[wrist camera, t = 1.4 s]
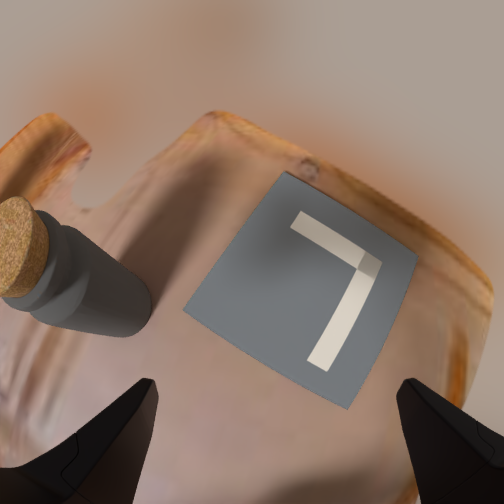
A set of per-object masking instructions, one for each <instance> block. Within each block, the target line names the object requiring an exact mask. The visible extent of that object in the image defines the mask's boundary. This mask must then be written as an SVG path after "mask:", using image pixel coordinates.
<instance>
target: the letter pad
mask: <svg viewBox="0 0 504 504" xmlns="http://www.w3.org/2000/svg"><path fill="white" fill-rule="evenodd" d="M418 257H419V256H418V255H416V254H415V253H414V252H412V251H411V250H409V249H408V248H407V247H405V246H404V245H402V244H401V243H399V242H398V241H397V240H395V239H394V238H392V237H391V236H389V235H388V234H386V233H385V232H383V231H382V230H380V229H379V228H377V227H376V226H374V225H373V224H371V223H370V222H368V221H367V220H365V219H364V218H362V217H360V216H359V215H357V214H356V213H354V212H353V211H351V210H349V209H348V208H346V207H345V206H343V205H341V204H340V203H338V202H336V201H335V200H333V199H331V198H330V197H328V196H326V195H325V194H323V193H321V192H319V191H318V190H316V189H314V188H313V187H311V186H309V185H307V184H305V183H304V182H302V181H300V180H298V179H297V178H295V177H293V176H291V175H289V174H287V173H286V172H283V173H282V174H281V176H280V177H279V178H278V180H277V181H276V182H275V184H274V185H273V186H272V188H271V189H270V190H269V192H268V193H267V194H266V196H265V197H264V198H263V200H262V201H261V202H260V204H259V205H258V206H257V208H256V209H255V210H254V212H253V213H252V214H251V216H250V217H249V218H248V220H247V221H246V222H245V224H244V225H243V227H242V228H241V229H240V231H239V232H238V233H237V235H236V236H235V237H234V239H233V240H232V242H231V243H230V244H229V246H228V247H227V248H226V250H225V251H224V253H223V254H222V255H221V257H220V258H219V259H218V261H217V262H216V264H215V265H214V266H213V268H212V269H211V271H210V272H209V273H208V275H207V276H206V278H205V279H204V280H203V282H202V283H201V285H200V286H199V287H198V289H197V290H196V292H195V293H194V294H193V296H192V297H191V299H190V300H189V301H188V303H187V304H186V306H185V307H184V309H183V311H185V312H186V313H187V314H189V315H190V316H192V317H193V318H194V319H196V320H197V321H199V322H200V323H201V324H203V325H204V326H206V327H207V328H209V329H210V330H212V331H213V332H215V333H216V334H218V335H219V336H221V337H222V338H224V339H225V340H227V341H228V342H230V343H231V344H233V345H234V346H236V347H237V348H239V349H240V350H242V351H244V352H245V353H247V354H248V355H250V356H251V357H253V358H255V359H256V360H258V361H260V362H261V363H263V364H265V365H266V366H268V367H270V368H271V369H273V370H275V371H276V372H278V373H280V374H281V375H283V376H285V377H287V378H288V379H290V380H292V381H294V382H295V383H297V384H299V385H301V386H303V387H304V388H306V389H308V390H310V391H312V392H314V393H316V394H317V395H319V396H321V397H323V398H325V399H327V400H329V401H331V402H333V403H335V404H337V405H339V406H341V407H343V408H345V409H347V410H348V408H349V407H350V405H351V403H352V402H353V400H354V398H355V397H356V395H357V393H358V392H359V390H360V388H361V387H362V385H363V383H364V381H365V379H366V378H367V376H368V374H369V372H370V370H371V368H372V366H373V365H374V363H375V361H376V359H377V357H378V355H379V353H380V351H381V349H382V347H383V345H384V343H385V340H386V338H387V336H388V334H389V332H390V330H391V327H392V325H393V323H394V321H395V318H396V316H397V314H398V311H399V309H400V306H401V304H402V301H403V299H404V296H405V294H406V291H407V288H408V286H409V283H410V280H411V277H412V275H413V272H414V269H415V266H416V263H417V260H418Z"/></svg>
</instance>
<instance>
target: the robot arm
mask: <svg viewBox="0 0 504 504" xmlns="http://www.w3.org/2000/svg"><path fill="white" fill-rule="evenodd" d="M158 398H159V396H158V391H157V388H156V384H155V381H154V380H153V379H148V378H142V379H140V380H139V381H138V382H137V383H136V384H134V385H133V386H132V387H131V388H130V389H128V390H127V391H126V392H125V393H124V394H122V395H121V396H120V397H119V398H117V399H116V400H115V401H114V402H113V403H111V404H110V405H109V406H108V407H106V408H105V409H104V410H103V411H101V412H100V413H99V414H98V415H96V416H95V417H94V418H93V419H91V420H90V421H89V422H88V423H86V424H85V425H84V426H83V427H81V428H80V429H79V430H78V431H77V432H76V433H74V434H72V435H71V436H70V437H69V438H67V439H66V440H65V441H63V442H62V443H60V444H59V445H57V446H56V447H54V448H53V449H51V450H49V451H48V452H46V453H44V454H43V455H41V456H39V457H37V458H35V459H34V460H32V461H30V462H28V463H26V464H24V465H22V466H19V467H14V468H0V504H132V503H133V500H134V496H135V492H136V489H137V485H138V482H139V478H140V475H141V471H142V468H143V464H144V461H145V458H146V454H147V451H148V448H149V444H150V441H151V437H152V433H153V427H154V421H155V416H156V410H157V405H158ZM396 400H397V404H398V409H399V414H400V420H401V425H402V430H403V433H404V437H405V440H406V444H407V447H408V451H409V455H410V458H411V462H412V466H413V470H414V474H415V478H416V482H417V486H418V491H419V495H420V500H421V504H504V437H503V436H501V435H500V434H498V433H496V432H494V431H492V430H491V429H489V428H487V427H486V426H484V425H483V424H481V423H480V422H478V421H476V420H475V419H474V418H472V417H471V416H469V415H468V414H466V413H465V412H463V411H462V410H461V409H459V408H458V407H456V406H455V405H453V404H452V403H450V402H449V401H447V400H446V399H444V398H443V397H442V396H440V395H439V394H437V393H436V392H434V391H433V390H431V389H430V388H428V387H427V386H426V385H424V384H423V383H421V382H420V381H418V380H417V379H415V378H409V379H405V380H404V381H403V383H402V385H401V387H400V389H399V390H398V392H397V395H396Z"/></svg>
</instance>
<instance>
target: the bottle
mask: <svg viewBox="0 0 504 504" xmlns="http://www.w3.org/2000/svg"><path fill="white" fill-rule="evenodd" d="M0 297H2V299H3V300H4V301H5V303H7V304H8V305H9V306H10V307H12V308H15V309H17V310H20V311H25V312H30V314H31V315H32V316H33V317H34V318H35V319H37V320H38V321H40V322H42V323H45V324H48V325H52V326H56V327H61V328H66V329H71V330H76V331H81V332H86V333H93V334H99V335H106V336H113V337H129V336H132V335H134V334H136V333H137V332H139V331H140V330H141V329H142V328H143V327H144V326H145V324H146V323H147V321H148V319H149V316H150V312H151V297H150V294H149V291H148V289H147V287H146V285H145V284H144V283H143V282H142V281H141V280H140V279H139V278H138V277H137V276H136V275H134V274H133V273H132V272H130V271H129V270H128V269H127V268H125V267H124V266H123V265H121V264H120V263H119V262H117V261H116V260H115V259H114V258H112V257H111V256H110V255H109V254H107V253H106V252H105V251H104V250H102V249H101V248H100V247H98V246H97V245H96V244H95V243H94V242H92V241H91V240H90V239H89V238H87V237H86V236H85V235H83V234H82V233H81V232H80V231H78V230H77V229H75V228H73V227H70V226H65V225H60V223H59V222H58V221H57V220H56V219H55V218H54V217H52V216H51V215H50V214H48V213H47V212H44V211H40V210H34V208H33V207H32V205H31V204H30V203H29V201H28V200H27V199H25V198H23V197H20V196H16V197H11V198H9V199H7V200H5V201H4V202H2V203H1V204H0Z"/></svg>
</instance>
